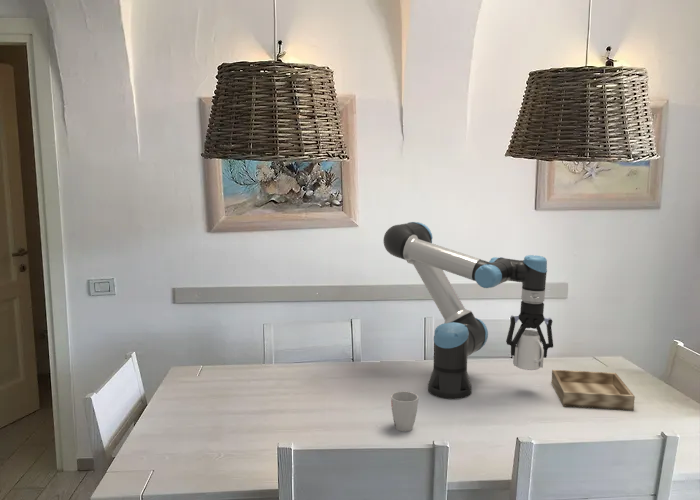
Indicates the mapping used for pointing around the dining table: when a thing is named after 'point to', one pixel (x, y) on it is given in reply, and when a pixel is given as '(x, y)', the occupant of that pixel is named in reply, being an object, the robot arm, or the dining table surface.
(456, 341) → the robot arm
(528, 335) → the mug
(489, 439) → the dining table surface
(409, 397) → the cup
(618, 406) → the tray
